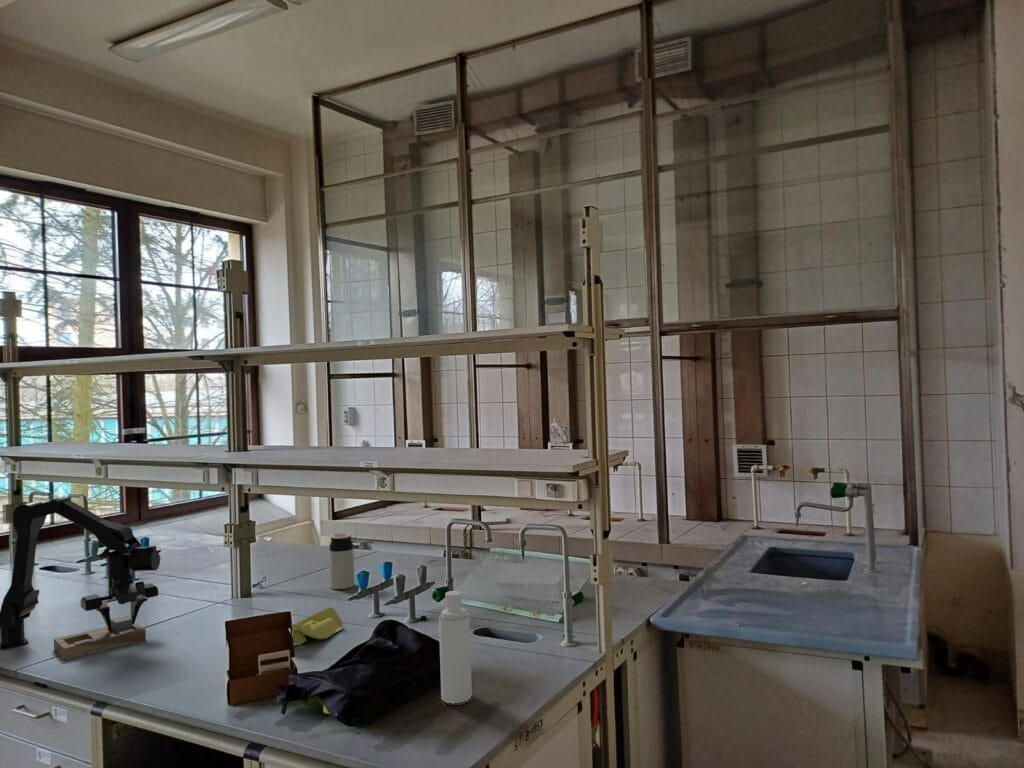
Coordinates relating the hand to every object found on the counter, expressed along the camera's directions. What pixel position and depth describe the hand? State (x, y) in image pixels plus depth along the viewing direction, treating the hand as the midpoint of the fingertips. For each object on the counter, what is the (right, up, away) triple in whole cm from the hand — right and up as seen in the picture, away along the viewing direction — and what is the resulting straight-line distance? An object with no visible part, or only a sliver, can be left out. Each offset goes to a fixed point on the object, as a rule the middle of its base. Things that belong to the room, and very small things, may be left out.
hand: (121, 627), depth 207 cm
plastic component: (+54, -2, -3) cm, 54 cm away
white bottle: (+98, -1, -46) cm, 108 cm away
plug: (0, -4, 0) cm, 4 cm away
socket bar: (-4, -4, -4) cm, 6 cm away
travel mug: (+52, -2, +47) cm, 70 cm away
